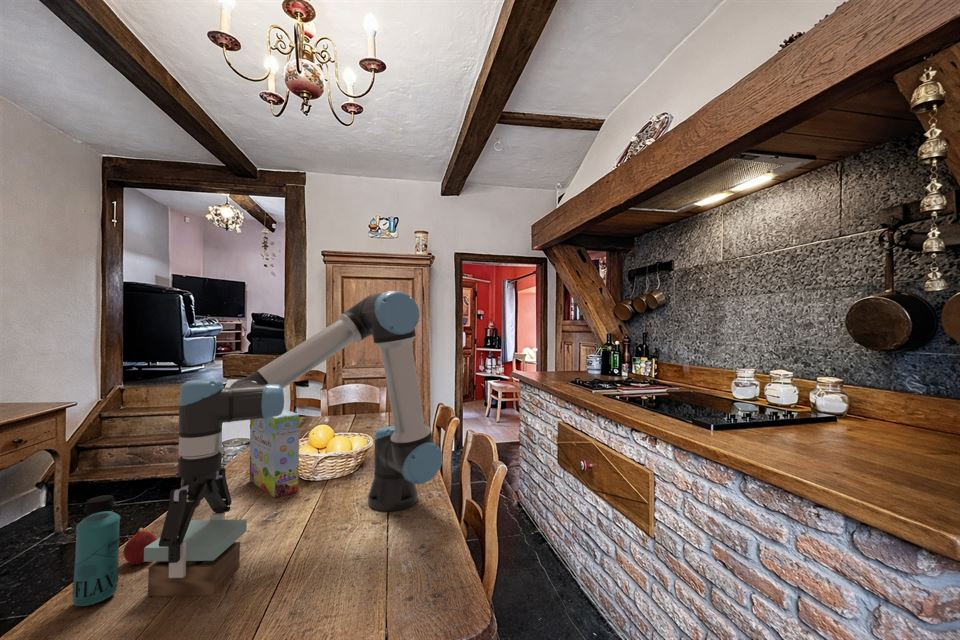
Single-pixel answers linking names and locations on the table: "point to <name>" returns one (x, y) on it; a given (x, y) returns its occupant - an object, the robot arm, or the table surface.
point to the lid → (202, 540)
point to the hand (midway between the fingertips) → (198, 558)
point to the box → (194, 575)
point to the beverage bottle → (96, 553)
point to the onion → (138, 546)
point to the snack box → (275, 453)
